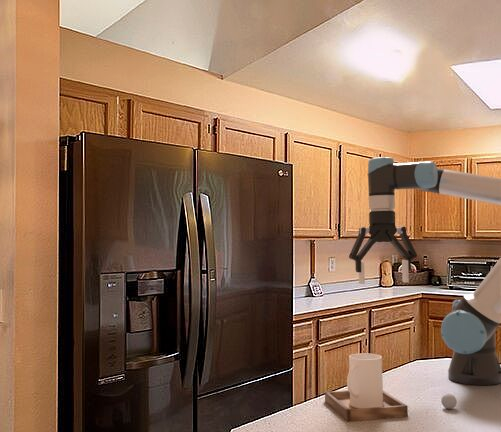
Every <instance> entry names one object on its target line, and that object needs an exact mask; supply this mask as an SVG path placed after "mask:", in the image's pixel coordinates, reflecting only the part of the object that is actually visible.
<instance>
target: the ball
mask: <svg viewBox="0 0 501 432" xmlns="http://www.w3.org/2000/svg"><path fill="white" fill-rule="evenodd" d="M457 402H458V401H457V398H456V396H455V395H454V394H451V393H445V394H444V395H442V397H441V404H442V406H443V407H444V408H445V409H447V410H452V409H454V408H455V407H456V406H457Z"/></svg>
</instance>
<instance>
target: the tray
mask: <svg viewBox="0 0 501 432" xmlns="http://www.w3.org/2000/svg"><path fill="white" fill-rule="evenodd" d="M349 401H350V393H349V390H348V389H346V390H335V391H324V402H325V403H326V405H328V406H329V407H331V409H333V410H334V411H335V412H336V413H337V414H338V415H340V417H342V418H343V419H344V420H345V421H346V422H355V421H356V422H358V421H369V420H370V421H371V420H379V419H380V420H381V419H394V418H405V417H406V418H407V417H409V413H408V412H409V409H408V408H409V407H408V405H407V404H405V403H404V402H402V401H400V400H399V399H398V398H396V397H394V396H393V395H391V394H390V393H388V392H386V391H385V390H383V402H384V406H383V407H373V408H360V409H358V408H354V407H352V406H350V404H349Z"/></svg>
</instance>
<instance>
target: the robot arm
mask: <svg viewBox="0 0 501 432" xmlns="http://www.w3.org/2000/svg"><path fill="white" fill-rule="evenodd" d="M367 167H368V168H367V179H368V180H367V183H368V210H370V211H369V213H368V222H369V224H368V225H369V227H365V226H360V227H358V235H357V237H356V240H355V242H354V244H353V246H352V248H351V250H350V253H349V255H348V259H350V260H353V261H354V262H355V273H358V284H360V285H365V283H366V282H365V261H364V260H363V259H364V257H365V256H366V255H367V253H368V252H369V251H370V250H371V249H372V247H373V246H374V244H376V243H390V244H392V245H393V247H394V248H395V249H396V251H397V252H398V253H399V254H400V255H401V256H402V257H403V259H401V276H402V277H401V279H402V282H403V283H409V282H410V279H409V272H410V271H411V270H412V260H413V259H416V258H417V257H418V254H417V252H416V250H415V248H414V246H413V244H412V242H411V240H410V238H409V236H408V233H407V227H406V226H399V227H397V226H396V212H395V209H396V196H395V195H396V194H395V191H396V190H412V189H413V190H419V191H421V192H427V193H432V194H440V195H444V196H450V197H456V198H461V199H467V200H472V201H477V202H483V203H488V204H493V205H498V206H501V177H493V176H488V175H482V174H475V173H470V172H469V173H468V172H464V171H457V170H451V169H444V168H439V167H437V165H436V163H435V162H434V161H424V160H423V161H417V162H416V161H415V162H405V163H395V160H394V158H393V157H389V156H387V157H386V156H385V157H384V156H383V157H381V156H380V157H373V158H370V159H369V160H368V164H367ZM368 233H369V236H370V237H369V238H368V240H367V241H366V243H365V244H364V245H363V247H362V244H363V242H364V240H365V237H366V235H368ZM396 234H398V235H399V237H400V239H401V242H402V243H403V245H402V243H400V241H399V239H398V238H397V237H396ZM360 249H361V250H360ZM500 325H501V257H500V258H499V259H498V260H497V261H496V262H495V264H494V266H493V267H492V268H491V269H490V271H489V272H488V273H487V274H486V276H485V277H484V279H483V280H482V281H481V282H480V284H479V285H478V287H476V289H475V290H474V292H473V293H470V294H464V295H463V296H462V298H461V299H455V300H453V301H452V306H451V312H449V313H448V314H447V315H446V316H445V317H444V318H443V320H442V322H441V326H440V333H441V338H442V340H443V342H444V343H445V345H446V346H447V347H448V348H449V349H451V350H452V351H453V353H452V357H451V359H450V363H449V368H448V370H447V372H448V374H447V375H448V379H449V380H450V381H453V382H454V383H460V384H464V385H472V386H492V385H498V384H501V364H500V361H499V358H498V356H497V349H496V347H497V343H496V340H497V339H496V329H497V328H499V326H500Z"/></svg>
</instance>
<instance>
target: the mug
mask: <svg viewBox="0 0 501 432" xmlns="http://www.w3.org/2000/svg"><path fill="white" fill-rule="evenodd" d="M348 363H349V366H348V367H349V370H348V374H347V378H346V386H347V390H349V393H350V401H349V404H350V406H352V407H354V408H358V409H360V408H373V407H383V406H384V402H383V391H384V390H383V389H384V387H383V356H382V355H380V354H378V353H377V354H376V353H372V352H371V353H367V352H363V353H362V352H361V353H360V352H359V353H353V354H349V357H348Z"/></svg>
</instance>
